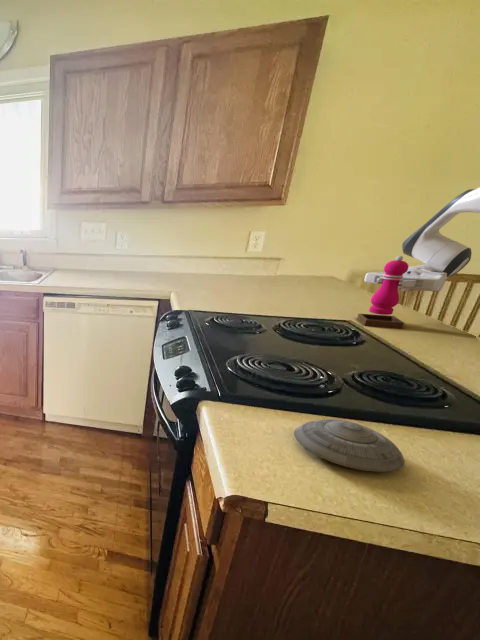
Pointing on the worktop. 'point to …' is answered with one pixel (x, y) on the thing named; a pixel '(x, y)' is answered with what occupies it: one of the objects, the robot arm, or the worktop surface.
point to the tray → (380, 320)
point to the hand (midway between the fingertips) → (390, 282)
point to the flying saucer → (349, 445)
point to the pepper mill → (389, 288)
